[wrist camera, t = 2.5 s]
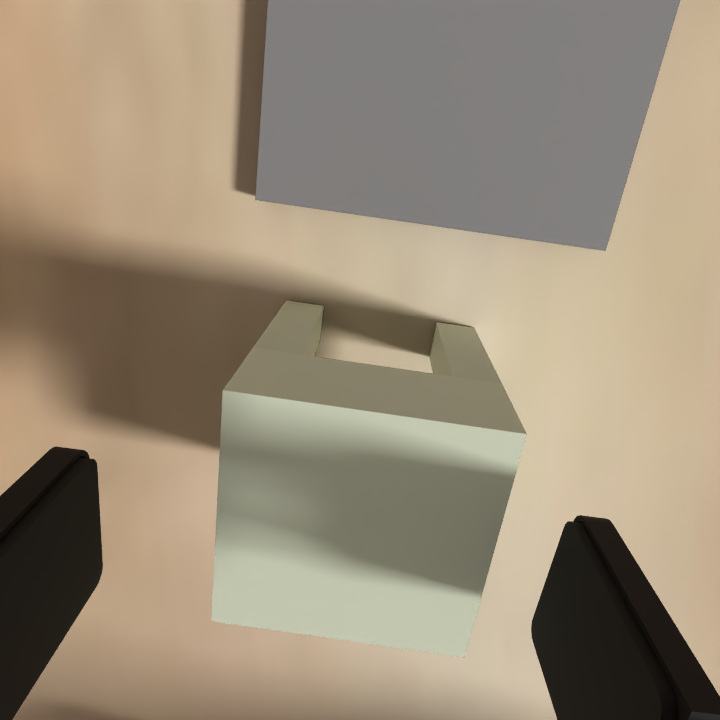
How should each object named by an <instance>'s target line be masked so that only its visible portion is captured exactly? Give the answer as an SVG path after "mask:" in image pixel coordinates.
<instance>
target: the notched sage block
mask: <svg viewBox="0 0 720 720" xmlns="http://www.w3.org/2000/svg"><path fill="white" fill-rule="evenodd" d="M323 309H324V306H322V305H315V304H308V303H302V302H295V301H288V300H286V301H285V303H284V304H283V306H282V307H281V308H280V310H279V311H278V313H277V314H276V316H275V317H274V318H273V320H272V321H271V323H270V324H269V325H268V327H267V328H266V330H265V331H264V332H263V334H262V335H261V337H260V338H259V340H258V341H257V342H256V344H255V345H254V347H253V348H252V349H251V351H250V352H249V354H248V355H247V357H246V358H245V359H244V361H243V362H242V364H241V365H240V366H239V368H238V369H237V371H236V372H235V373H234V375H233V376H232V378H231V379H230V381H229V382H228V383H227V385H226V386H225V388H224V389H223V395H222V415H221V436H220V456H219V477H218V497H217V518H216V538H215V559H214V580H213V600H212V621H213V622H220V623H227V624H234V625H241V626H248V627H255V628H262V629H269V630H276V631H283V632H290V633H297V634H303V635H310V636H317V637H324V638H331V639H338V640H345V641H352V642H359V643H366V644H373V645H380V646H387V647H393V648H400V649H407V650H414V651H421V652H428V653H435V654H442V655H449V656H456V657H463V658H464V657H465V653H466V650H467V646H468V643H469V639H470V635H471V632H472V628H473V625H474V621H475V618H476V614H477V610H478V607H479V603H480V600H481V596H482V592H483V589H484V585H485V582H486V578H487V575H488V571H489V567H490V564H491V560H492V557H493V553H494V550H495V546H496V542H497V539H498V535H499V532H500V528H501V525H502V521H503V517H504V514H505V510H506V507H507V503H508V499H509V496H510V492H511V489H512V485H513V482H514V478H515V474H516V471H517V467H518V464H519V460H520V457H521V453H522V449H523V446H524V442H525V439H526V435H527V434H526V432H525V430H524V428H523V426H522V424H521V422H520V420H519V418H518V415H517V413H516V411H515V409H514V407H513V405H512V403H511V401H510V399H509V397H508V395H507V393H506V391H505V389H504V387H503V385H502V383H501V381H500V379H499V377H498V375H497V373H496V371H495V369H494V367H493V365H492V363H491V361H490V359H489V357H488V355H487V353H486V351H485V349H484V347H483V345H482V343H481V341H480V338H479V336H478V334H477V332H476V330H475V328H474V327H467V326H460V325H453V324H446V323H439V322H436V328H435V333H434V338H433V343H432V348H431V353H430V361H431V366H432V371H433V374H431V373H424V372H418V371H411V370H404V369H397V368H390V367H383V366H376V365H369V364H362V363H356V362H349V361H342V360H335V359H328V358H321V357H314V355H315V353H316V350H317V347H318V345H319V342H320V335H321V326H322V318H323Z"/></svg>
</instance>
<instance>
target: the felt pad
mask: <svg viewBox="0 0 720 720" xmlns="http://www.w3.org/2000/svg"><path fill="white" fill-rule="evenodd" d="M679 3H680V0H268V9H267V24H266V40H265V56H264V72H263V87H262V103H261V119H260V134H259V150H258V166H257V182H256V197H255V200H259V201H266V202H273V203H280V204H287V205H294V206H300V207H307V208H314V209H321V210H328V211H335V212H342V213H349V214H355V215H362V216H369V217H376V218H383V219H390V220H397V221H404V222H410V223H417V224H424V225H431V226H438V227H445V228H452V229H459V230H465V231H472V232H479V233H486V234H493V235H500V236H507V237H514V238H520V239H527V240H534V241H541V242H548V243H555V244H562V245H569V246H575V247H582V248H589V249H596V250H603V251H606V248H607V245H608V241H609V238H610V234H611V231H612V228H613V224H614V221H615V218H616V214H617V211H618V208H619V204H620V201H621V198H622V194H623V191H624V187H625V184H626V181H627V177H628V174H629V171H630V167H631V164H632V161H633V157H634V154H635V151H636V147H637V144H638V140H639V137H640V134H641V130H642V127H643V124H644V120H645V117H646V114H647V110H648V107H649V104H650V100H651V97H652V93H653V90H654V87H655V83H656V80H657V77H658V73H659V70H660V67H661V63H662V60H663V56H664V53H665V50H666V46H667V43H668V40H669V36H670V33H671V30H672V26H673V23H674V20H675V16H676V13H677V9H678V6H679Z"/></svg>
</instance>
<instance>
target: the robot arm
mask: <svg viewBox="0 0 720 720" xmlns="http://www.w3.org/2000/svg"><path fill="white" fill-rule="evenodd" d="M102 568H103V562H102V544H101V526H100V508H99V490H98V472H97V463H96V461H95V460H94V459H89V455H88V453H87V452H86V451H85V450H78V449H70V448H62V447H53V448H52V449H50V450H49V451H48V452H47V453H46V454H45V455H44V456H43V457H42V458H41V459H39V460H38V461H37V462H36V463H35V464H34V465H33V466H32V467H31V468H30V469H29V470H28V471H27V472H26V473H24V474H23V475H22V476H21V477H20V478H19V479H18V480H17V481H16V482H15V483H14V484H13V485H12V486H11V487H10V488H8V489H7V490H6V491H5V492H4V493H3V494H2V495H1V496H0V720H12V719H13V717H14V716H15V714H16V713H17V711H18V710H19V708H20V706H21V705H22V703H23V702H24V700H25V699H26V697H27V695H28V694H29V692H30V691H31V689H32V687H33V686H34V684H35V683H36V681H37V680H38V678H39V676H40V675H41V673H42V672H43V670H44V669H45V667H46V665H47V664H48V662H49V661H50V659H51V657H52V656H53V654H54V653H55V651H56V650H57V648H58V646H59V645H60V643H61V642H62V640H63V639H64V637H65V635H66V634H67V632H68V631H69V629H70V627H71V626H72V624H73V623H74V621H75V620H76V618H77V616H78V615H79V613H80V612H81V610H82V609H83V607H84V605H85V604H86V602H87V601H88V599H89V597H90V596H91V594H92V593H93V591H94V590H95V588H96V586H97V584H98V583H99V580H100V577H101V574H102ZM531 632H532V639H533V643H534V646H535V649H536V653H537V656H538V659H539V662H540V665H541V668H542V672H543V675H544V678H545V681H546V684H547V688H548V691H549V694H550V697H551V700H552V704H553V707H554V710H555V713H556V716H557V720H720V696H719V695H718V693H717V691H716V690H715V688H714V686H713V685H712V683H711V682H710V680H709V678H708V677H707V675H706V674H705V672H704V670H703V669H702V667H701V665H700V664H699V662H698V661H697V659H696V657H695V656H694V654H693V653H692V651H691V649H690V648H689V646H688V645H687V643H686V641H685V640H684V638H683V636H682V635H681V633H680V632H679V630H678V628H677V627H676V625H675V624H674V622H673V620H672V619H671V617H670V615H669V614H668V612H667V611H666V609H665V607H664V606H663V604H662V603H661V601H660V599H659V598H658V596H657V594H656V593H655V591H654V590H653V588H652V586H651V585H650V583H649V582H648V580H647V578H646V577H645V575H644V574H643V572H642V570H641V569H640V567H639V565H638V564H637V562H636V561H635V559H634V557H633V556H632V554H631V553H630V551H629V549H628V548H627V546H626V544H625V543H624V541H623V540H622V538H621V536H620V535H619V533H618V532H617V530H616V528H615V527H614V525H613V524H612V522H611V521H610V520H608V519H604V518H597V517H589V516H581V515H580V516H577V517H576V518H575V519H574V521H573V522H570V521H569V522H567V523H566V524H565V526H564V529H563V532H562V535H561V538H560V541H559V544H558V547H557V549H556V552H555V555H554V558H553V561H552V564H551V567H550V570H549V573H548V576H547V579H546V582H545V585H544V588H543V590H542V593H541V596H540V599H539V602H538V605H537V608H536V611H535V614H534V617H533V620H532V627H531Z"/></svg>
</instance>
